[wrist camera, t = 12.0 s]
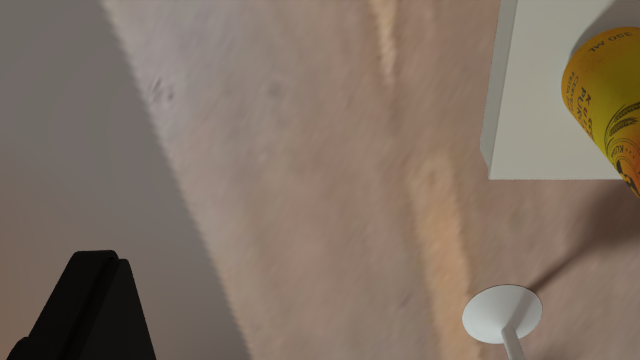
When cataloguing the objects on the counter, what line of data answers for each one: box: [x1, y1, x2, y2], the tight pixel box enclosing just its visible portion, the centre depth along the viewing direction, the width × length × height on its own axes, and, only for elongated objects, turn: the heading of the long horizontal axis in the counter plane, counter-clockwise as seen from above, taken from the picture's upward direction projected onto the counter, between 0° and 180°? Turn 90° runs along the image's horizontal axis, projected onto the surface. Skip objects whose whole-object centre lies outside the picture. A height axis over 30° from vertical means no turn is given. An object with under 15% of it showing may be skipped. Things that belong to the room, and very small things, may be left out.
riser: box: [479, 0, 640, 179], centre depth 38 cm, size 14×12×4 cm
